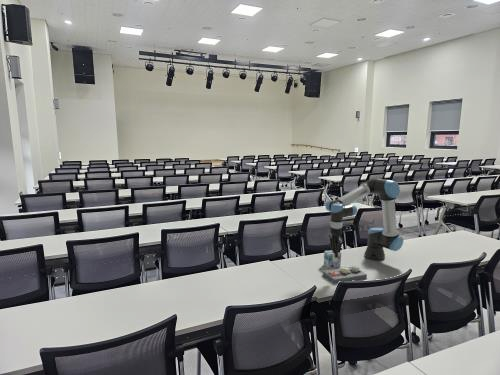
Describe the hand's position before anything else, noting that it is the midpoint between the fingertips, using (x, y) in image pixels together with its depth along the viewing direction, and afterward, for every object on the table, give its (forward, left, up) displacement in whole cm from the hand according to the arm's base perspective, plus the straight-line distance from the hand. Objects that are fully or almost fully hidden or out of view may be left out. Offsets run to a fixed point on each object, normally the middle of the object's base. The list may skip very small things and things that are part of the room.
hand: (335, 261), depth 216 cm
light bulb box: (-11, -19, -12) cm, 25 cm away
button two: (-8, 0, -9) cm, 12 cm away
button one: (-17, 0, -9) cm, 19 cm away
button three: (0, 0, -11) cm, 11 cm away
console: (-8, 0, -12) cm, 14 cm away
